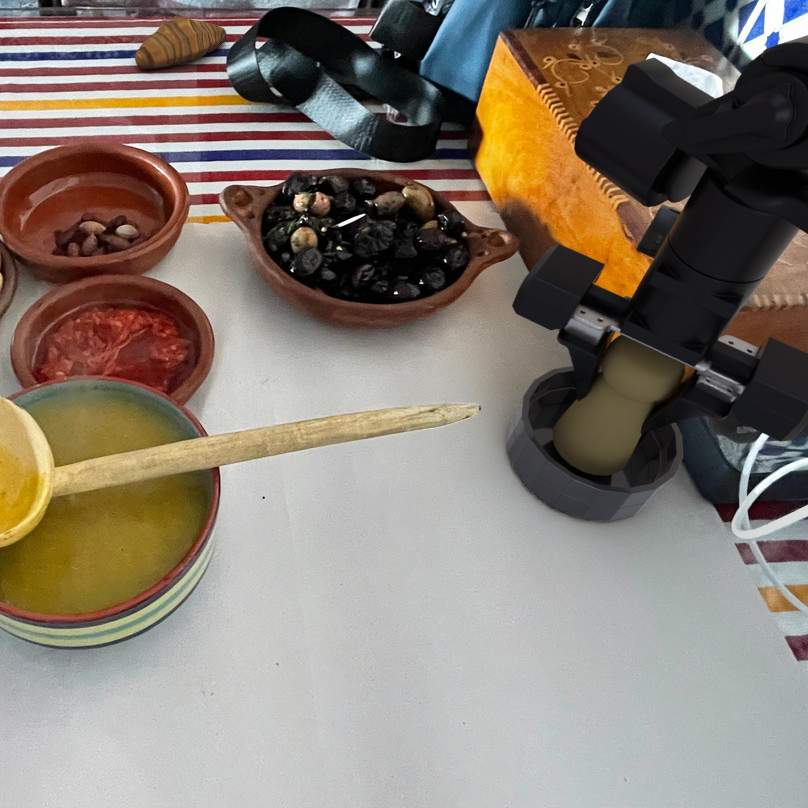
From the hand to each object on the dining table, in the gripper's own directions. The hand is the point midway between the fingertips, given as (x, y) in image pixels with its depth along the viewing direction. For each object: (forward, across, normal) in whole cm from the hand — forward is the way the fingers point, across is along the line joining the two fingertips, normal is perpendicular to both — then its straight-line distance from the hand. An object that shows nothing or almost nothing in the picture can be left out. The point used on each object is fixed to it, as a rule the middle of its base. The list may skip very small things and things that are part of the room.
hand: (611, 413), depth 56 cm
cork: (+4, 0, 0) cm, 4 cm away
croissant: (+6, +65, -28) cm, 71 cm away
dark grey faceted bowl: (+6, 0, 0) cm, 6 cm away
